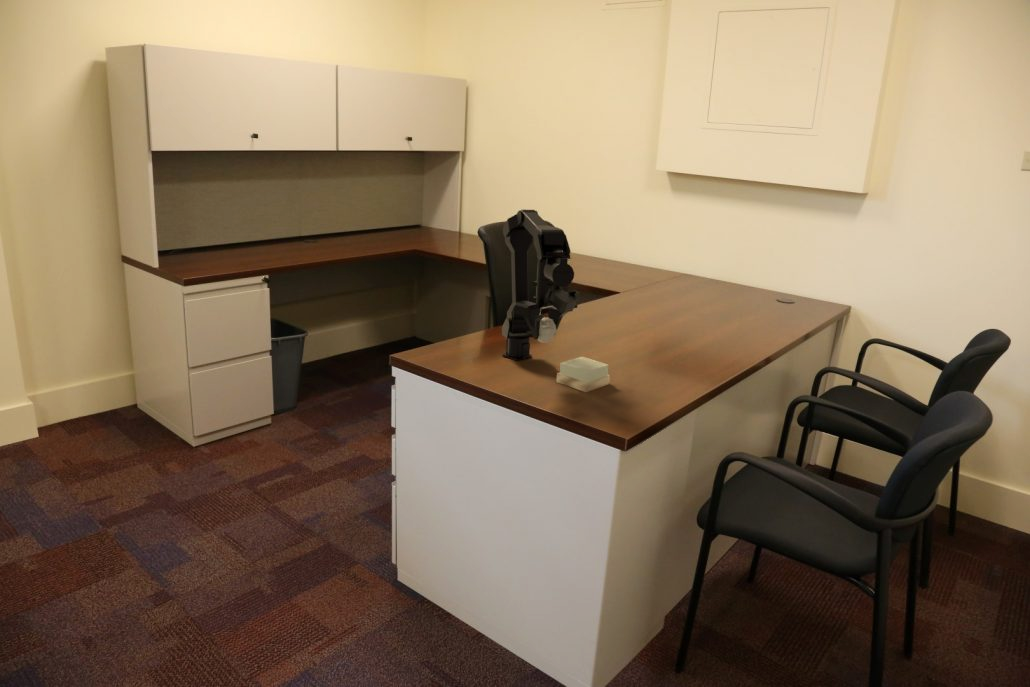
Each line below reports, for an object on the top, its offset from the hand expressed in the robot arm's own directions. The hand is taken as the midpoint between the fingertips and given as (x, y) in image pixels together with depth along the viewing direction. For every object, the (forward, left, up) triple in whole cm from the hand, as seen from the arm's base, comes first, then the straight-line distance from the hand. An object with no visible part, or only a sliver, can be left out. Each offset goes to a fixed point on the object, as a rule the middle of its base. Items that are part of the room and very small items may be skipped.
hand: (544, 337), depth 188 cm
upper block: (+8, +7, -10) cm, 15 cm away
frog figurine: (0, 0, -2) cm, 2 cm away
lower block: (+8, +7, -13) cm, 17 cm away
